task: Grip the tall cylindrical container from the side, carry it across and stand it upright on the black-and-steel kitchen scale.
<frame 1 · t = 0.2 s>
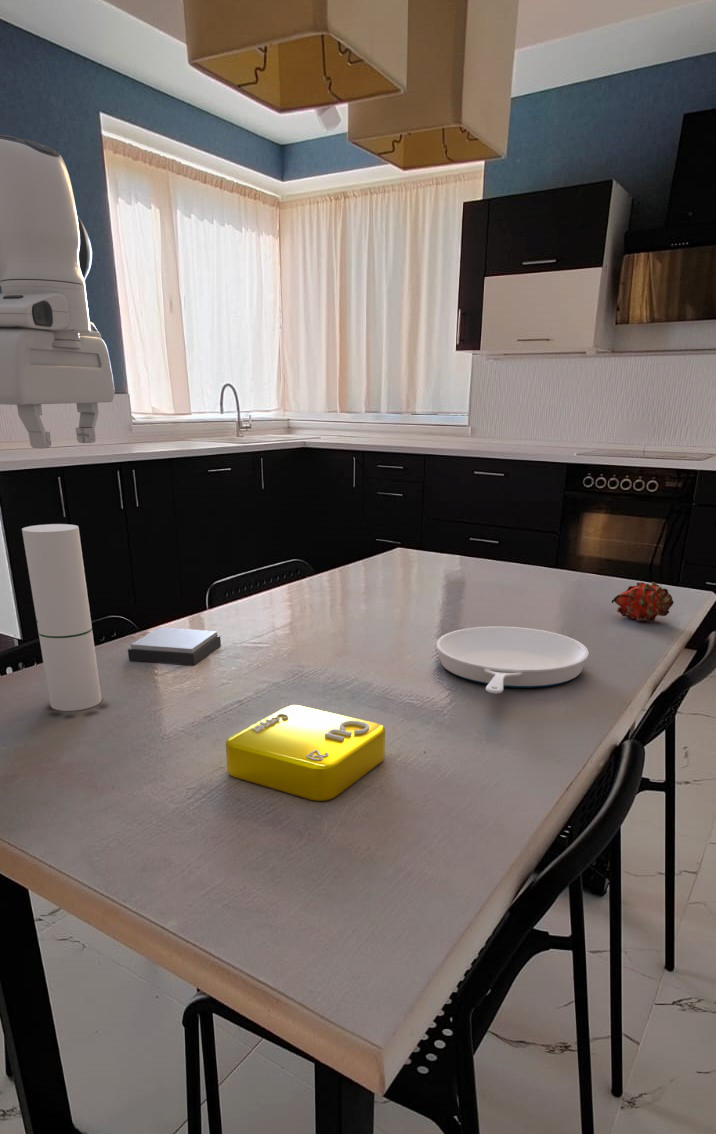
hand: (65, 445, 92), 36 cm above the table, tool pointing down, fingers open, 8 cm apart
element tile: (307, 766, 94), on the table
scale: (176, 652, 136), on the table
pan: (505, 679, 124), on the table
cylindrical container: (76, 703, 113), on the table
dragon fruit: (639, 620, 159), on the table
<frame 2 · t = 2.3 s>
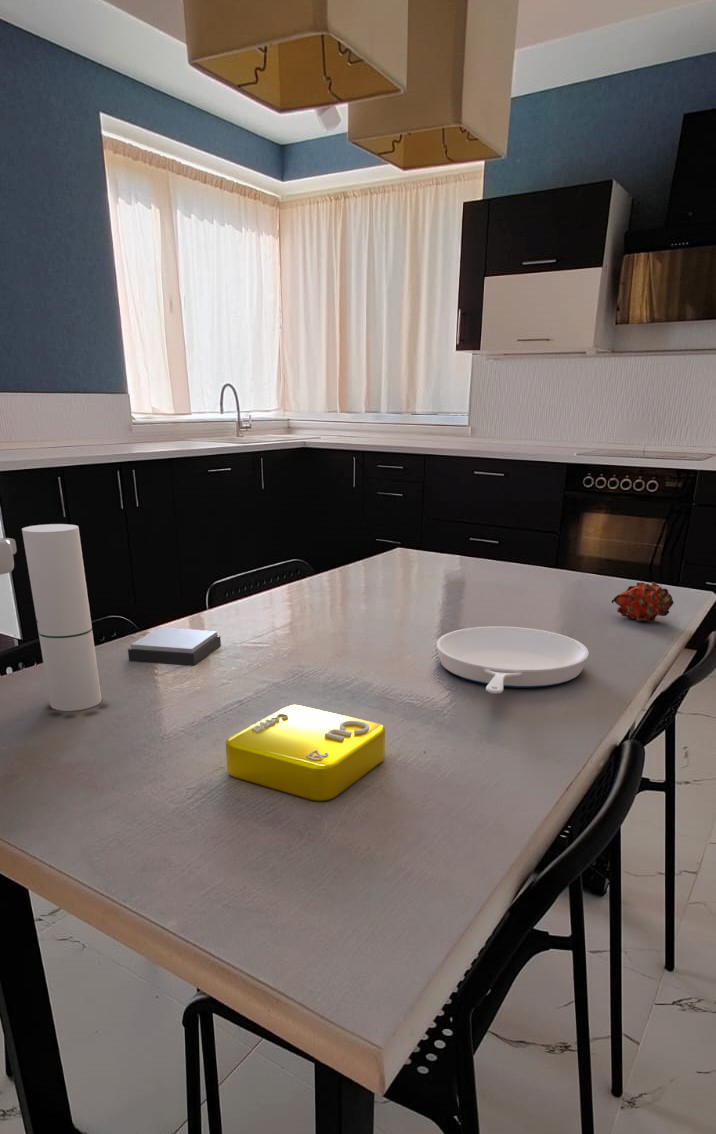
nothing on the table moved.
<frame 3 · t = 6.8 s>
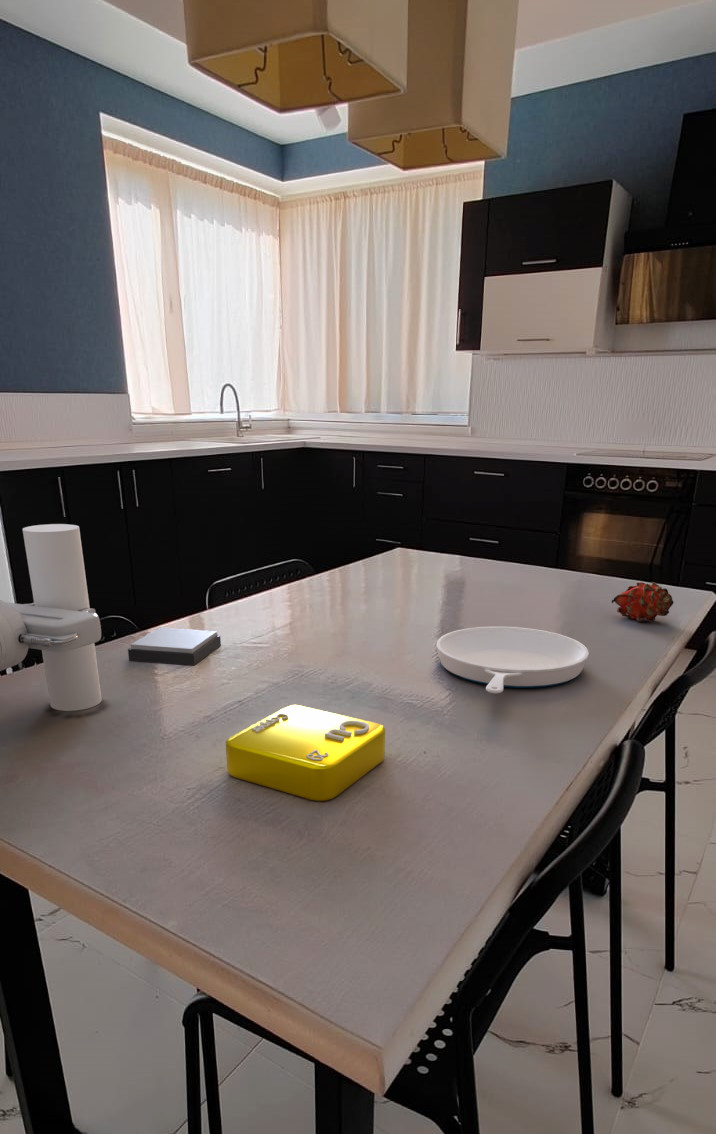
hand: (67, 610, 109), 13 cm above the table, tool horizontal, fingers closed on cylindrical container, 7 cm apart
cylindrical container: (76, 703, 113), on the table, touching gripper
everything else where it was.
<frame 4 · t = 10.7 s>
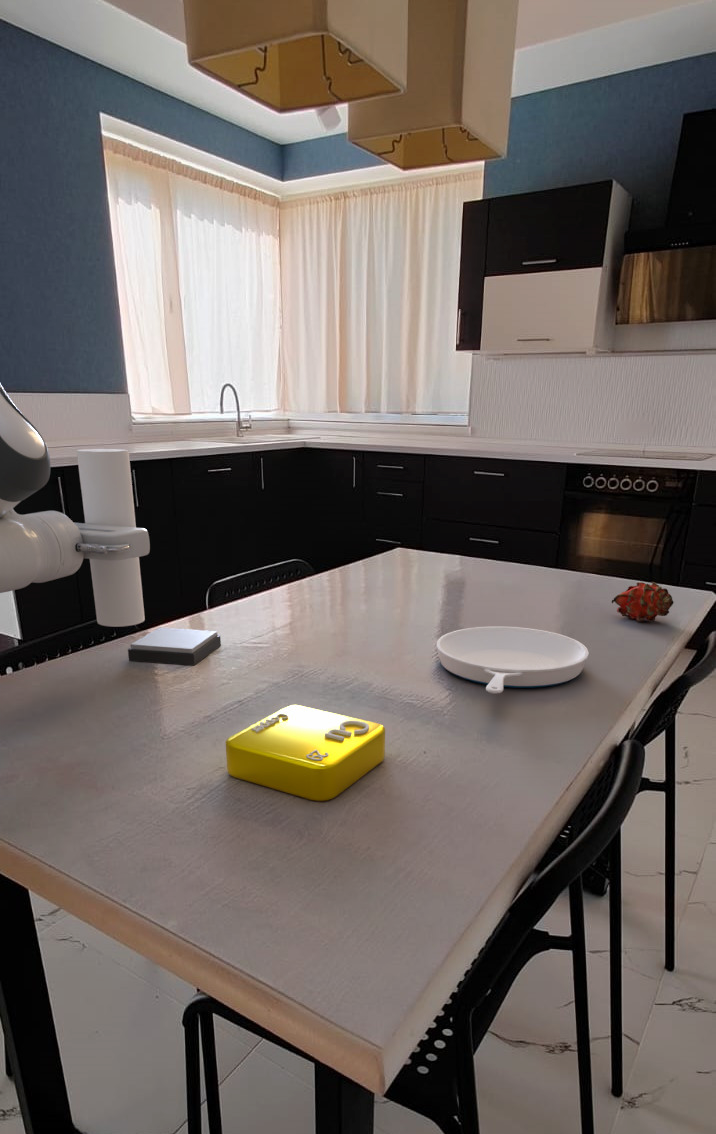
hand: (114, 531, 116), 23 cm above the table, tool horizontal, fingers closed on cylindrical container, 7 cm apart
cylindrical container: (121, 621, 120), point 9 cm above the table, touching gripper
everything else where it was.
when the fingers open (16 cm above the table, at t = 15.0 s): cylindrical container stays where it is, resting on scale.
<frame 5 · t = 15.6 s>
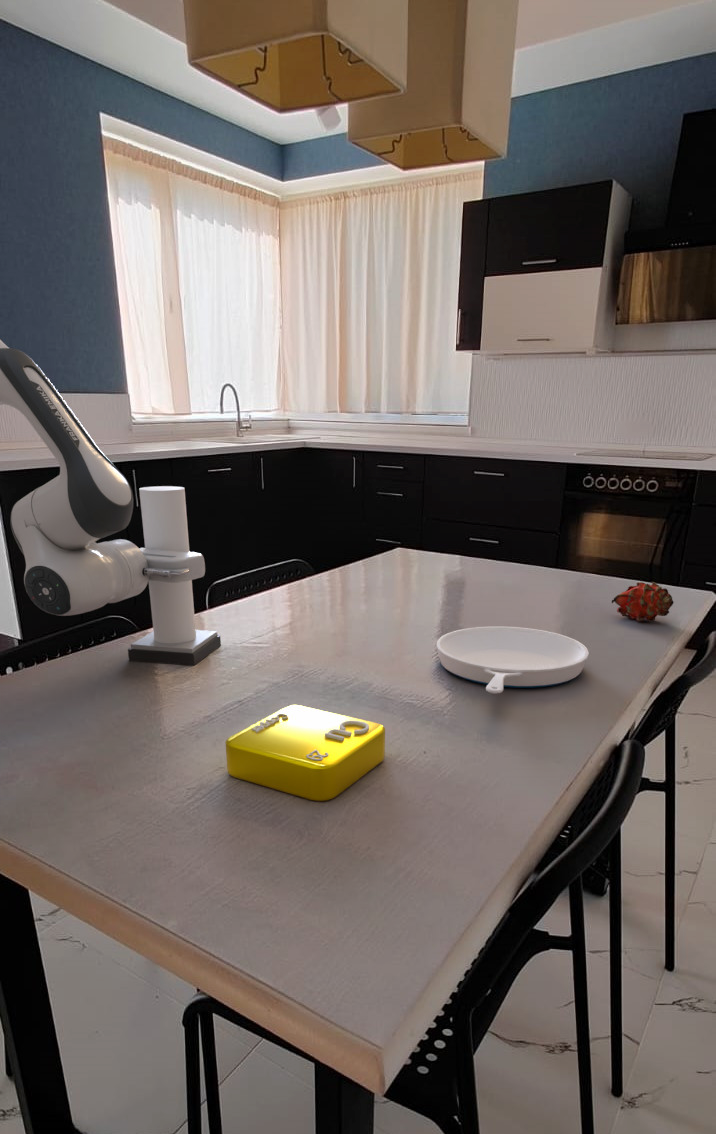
hand: (170, 555, 130), 17 cm above the table, tool horizontal, fingers open, 8 cm apart
cylindrical container: (175, 638, 135), point 3 cm above the table, touching scale
everything else where it was.
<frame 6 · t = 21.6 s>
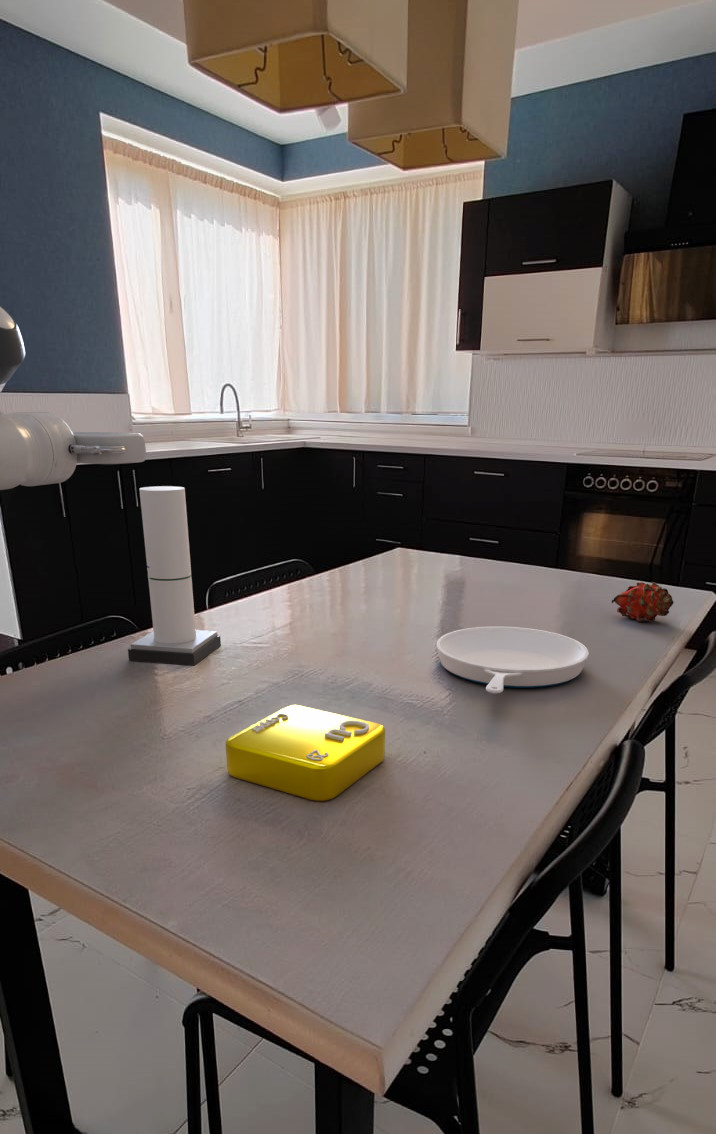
hand: (109, 444, 112), 35 cm above the table, tool horizontal, fingers open, 8 cm apart
nothing on the table moved.
at the end: cylindrical container 0.1 cm off-centre on the scale, point 2.6 cm above the scale's base; cylindrical container tilted 0°; the gripper is holding nothing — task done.
